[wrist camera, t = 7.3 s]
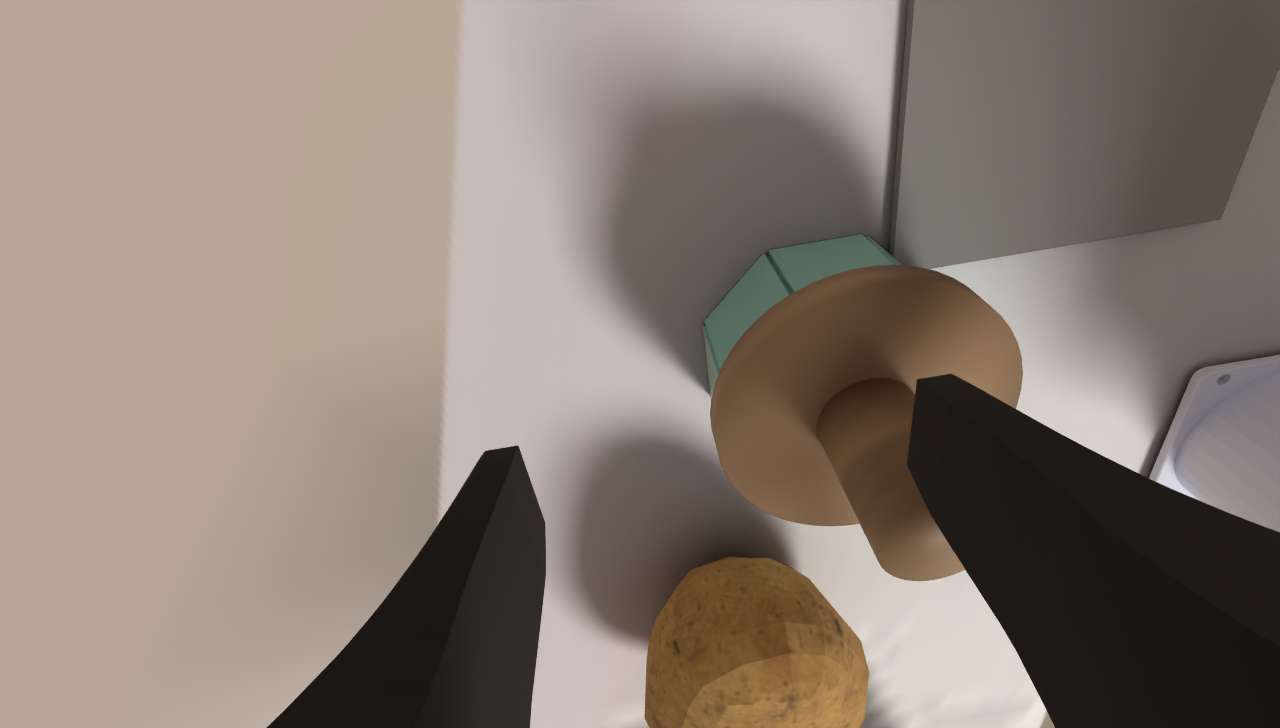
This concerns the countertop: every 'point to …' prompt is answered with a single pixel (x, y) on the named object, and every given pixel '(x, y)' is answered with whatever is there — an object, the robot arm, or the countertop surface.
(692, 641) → the potato
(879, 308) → the lid
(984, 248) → the mat
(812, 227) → the countertop surface
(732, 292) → the bowl
